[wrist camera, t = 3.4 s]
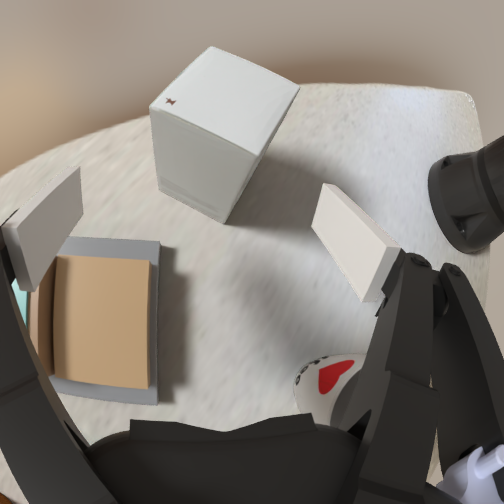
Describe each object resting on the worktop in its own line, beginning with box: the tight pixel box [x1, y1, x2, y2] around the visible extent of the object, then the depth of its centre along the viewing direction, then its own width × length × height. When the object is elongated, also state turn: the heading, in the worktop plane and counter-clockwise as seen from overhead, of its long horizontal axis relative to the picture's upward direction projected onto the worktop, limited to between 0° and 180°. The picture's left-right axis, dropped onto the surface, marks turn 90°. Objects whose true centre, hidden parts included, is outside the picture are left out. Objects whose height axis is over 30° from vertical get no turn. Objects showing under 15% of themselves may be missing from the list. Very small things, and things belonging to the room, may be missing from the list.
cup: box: [294, 354, 367, 428], centre depth 21 cm, size 8×8×10 cm
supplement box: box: [149, 46, 300, 224], centre depth 22 cm, size 7×7×13 cm
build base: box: [12, 236, 161, 406], centre depth 19 cm, size 20×14×6 cm
